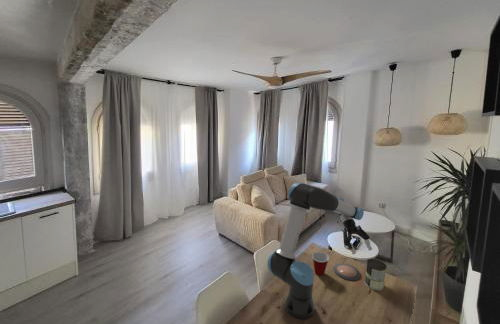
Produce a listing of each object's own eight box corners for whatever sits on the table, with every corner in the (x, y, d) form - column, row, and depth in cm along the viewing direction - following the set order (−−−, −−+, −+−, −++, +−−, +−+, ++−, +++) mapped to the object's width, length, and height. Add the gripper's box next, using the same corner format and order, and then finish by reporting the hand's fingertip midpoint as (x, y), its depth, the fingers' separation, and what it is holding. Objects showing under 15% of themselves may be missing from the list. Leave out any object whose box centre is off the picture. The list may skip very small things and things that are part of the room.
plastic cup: (307, 268, 157) (309, 252, 155) (323, 267, 159) (324, 251, 157) (314, 279, 147) (316, 261, 144) (330, 277, 148) (332, 260, 146)
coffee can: (361, 282, 144) (363, 262, 142) (370, 276, 150) (372, 256, 148) (378, 293, 136) (381, 271, 134) (386, 286, 142) (389, 265, 139)
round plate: (335, 278, 148) (336, 276, 148) (332, 263, 163) (332, 261, 163) (362, 282, 145) (363, 280, 145) (356, 266, 161) (356, 265, 160)
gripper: (358, 220, 168) (373, 250, 157) (330, 224, 159) (344, 257, 148) (365, 216, 163) (381, 246, 152) (336, 220, 154) (351, 253, 143)
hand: (362, 252), depth 150 cm, fingers open, 13 cm apart
